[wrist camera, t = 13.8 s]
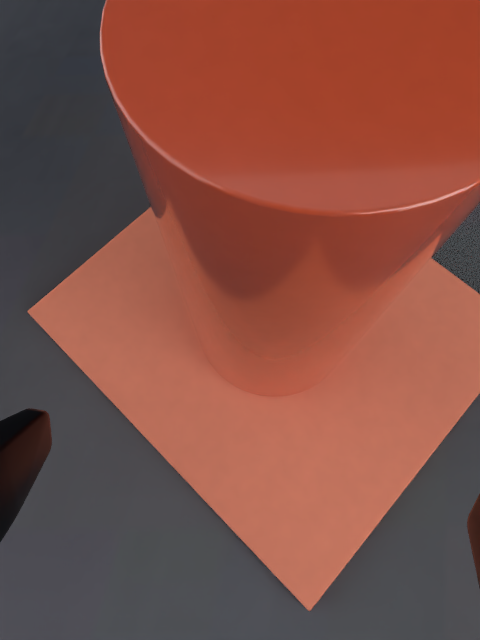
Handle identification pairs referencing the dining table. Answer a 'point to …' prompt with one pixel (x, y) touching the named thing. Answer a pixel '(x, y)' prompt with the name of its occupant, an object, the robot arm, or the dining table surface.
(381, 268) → the terracotta tumbler
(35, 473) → the robot arm
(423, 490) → the dining table surface
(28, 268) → the dining table surface
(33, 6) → the dining table surface
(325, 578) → the terracotta mat
